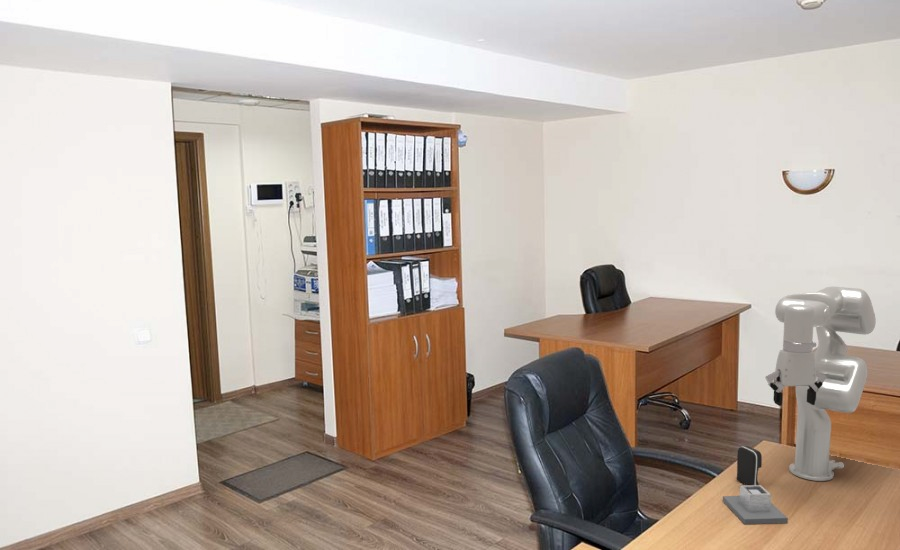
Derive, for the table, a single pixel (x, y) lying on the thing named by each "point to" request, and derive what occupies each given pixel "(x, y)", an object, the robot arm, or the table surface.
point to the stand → (754, 517)
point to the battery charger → (748, 465)
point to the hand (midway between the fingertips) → (794, 404)
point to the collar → (755, 498)
